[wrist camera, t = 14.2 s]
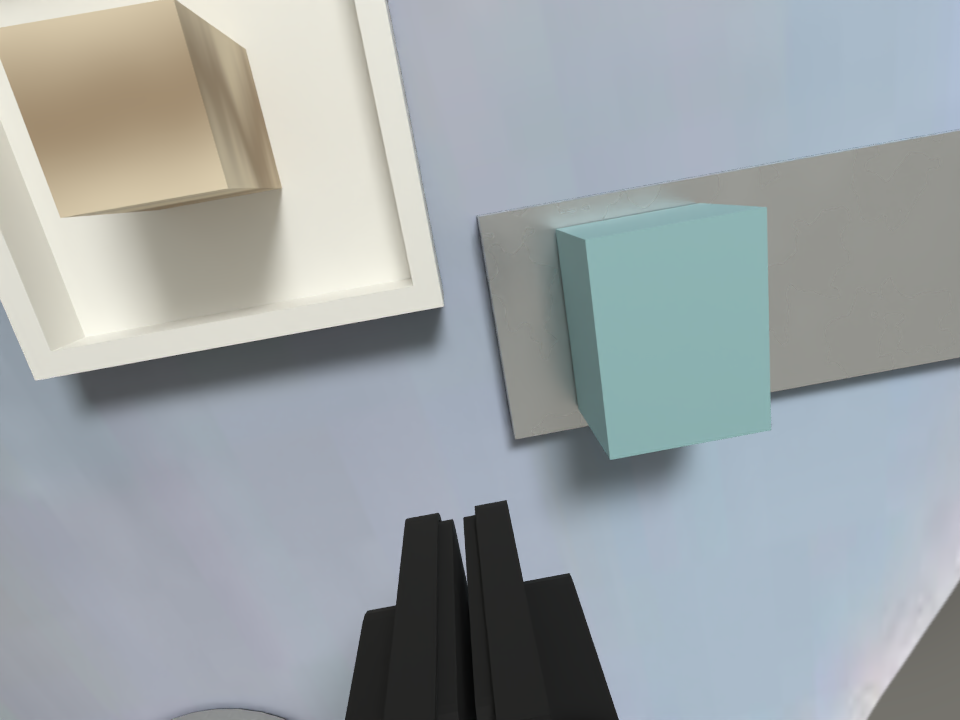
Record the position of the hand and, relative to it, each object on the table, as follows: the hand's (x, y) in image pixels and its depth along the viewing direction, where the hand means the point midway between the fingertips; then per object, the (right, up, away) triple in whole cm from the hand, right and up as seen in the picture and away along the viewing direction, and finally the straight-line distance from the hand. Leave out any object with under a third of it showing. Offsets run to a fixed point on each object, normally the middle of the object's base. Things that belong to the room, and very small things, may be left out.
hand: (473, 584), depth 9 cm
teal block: (+7, +6, +15) cm, 17 cm away
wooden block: (-11, +12, +12) cm, 21 cm away
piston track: (+15, +8, +16) cm, 23 cm away
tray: (-11, +13, +13) cm, 21 cm away
